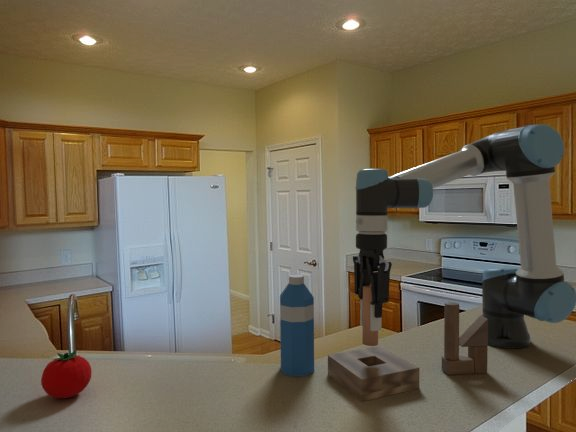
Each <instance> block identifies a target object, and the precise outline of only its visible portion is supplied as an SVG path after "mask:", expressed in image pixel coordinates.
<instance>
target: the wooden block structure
mask: <svg viewBox="0 0 576 432" xmlns="http://www.w3.org/2000/svg"><path fill="white" fill-rule="evenodd" d="M443 317H444V318H443V319H444V322H443V323H444V329H443V330H444V332H443V333H444V334H443V335H444V338H443V339H444V340H443V341H444V344H443V345H444V346H443V349H444V350H443V356H441V370H442V371H443V372H444V373H445V374H446V375H449V376H450V375H452V376H454V375H467V374H468V375H469V374H471V375H473V374H488V350H489V349H488V346H489V344H488V319H487V318H485V317H483V316H482V314H481V315H479V316H478V317H477V318H476V319H475V320H474V322H472V323H471V325H470V326H469V327H468V328H467V329H466V330H465V331H464V332H463V333H462V334H461V335H460V304H459V303H458V302H453V301H448V302H445V303H444V315H443ZM460 347H461V348H467V356H465V355H460Z"/></svg>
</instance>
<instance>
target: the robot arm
mask: <svg viewBox="0 0 576 432" xmlns="http://www.w3.org/2000/svg"><path fill="white" fill-rule="evenodd" d="M564 144H565V143H564V141H563V138H562V136H561V135H560V134H559V131H557V130H555V129H554V127H552V126H551V125H548V124H544V123H543V124H542V123H541V124H528V125H524V126H521V127H516V128H511V129H505V130H500V131H497V132H494V133H491V134H489V135H487V136H484V137H483V138H480V139H477V140H476V141H473V142H471V143H468V144H466V145H464V146H462V147H461V148H460V150H459V151H456V152H453V153H450V154H448V155H445V156H442V157H440V158H437V159H434V160H432V161H429V162H426V163H423V164H421V165H418V166H416V167H412V168H410V169H407V170H403V171H401V172H399V173H396V174H394V175H391V176H389V172H388V170H387V169H384V168H365V169H359V170H358V171H357V173H356V181H355V182H356V183H355V210H356V211H355V215H356V216H355V217H356V218H355V230H356V232H357V233H356V234H355V248H356V249H357V250H359V252H358V255H353V256H352V262H353V273H354V274H353V275H354V277H353V279H354V282H353V283H354V295H355V296H356V295H357V297H358V299H359V311H360V312H359V316H360V317H359V318H360V319H359V320H360V321H359V325H360V326H361V327H363V286H368V285H371V290H372V300H373V302H370V331H378V332H379V331H382V317H383V305H384V304H388V303H389V302H390V299H389V298H390V281H391V280H390V278H391V269H392V265H393V264H392V262H391V261H386V260H385V256H384V250H386V249H387V248H388V234H387V233H386V232H388V209H416V210H417V209H419V208H420V209H421V208H422V209H423V208H427V207H428V206H430V204H431V203H432V202H433V198H434V189H436V188H438V187H441V186H444V185H445V184H448V183H451V182H453V181H456V180H460V179H461V178H464V177H466V176H467V177H468V176H469V175H470V176H472V177H473V176H475V177H476V176H478V175H481V174H486V173H492V172H505V176H506V179H507V180H509V182H511V183H512V184H513V195H514V206H515V217H516V226H517V227H516V228H517V236H518V237H517V238H518V239H517V240H518V250H519V261H520V267H519V266H517V267H516V266H506V267H505V266H504V267H503V266H502V267H500V266H499V267H488V268H486V269H484V270H483V273H482V279H481V282H482V283H481V286H482V288H481V291H482V292H481V294H482V301H481V302H482V312H481V313H482V314H481V316H483V317H485V318H487V319H488V346H489V345H490V346H494V347H497V348H506V349H524V348H527V347H529V346H530V345H531V336H530V333H529V330H528V326H527V324H526V320H525V316H526V317H529V318H532V319H536V320H538V321H540V322H546V323H551V324H558V323H561V322H563V321H565V320H566V319H567V318H568V317H570V315H571V314H572V312H573V311H574V309H575V307H576V290H575V287H573V285H572V284H570V283H569V282H567V281H565V274H564V271H563V270H562V269H561V268H560V267H558V265H557V258H556V257H557V256H556V247H555V233H554V224H553V223H554V221H553V211H552V199H551V198H552V197H551V188H550V180H551V178H552V177H553V176H554V175H555V174H556V169H555V167H556V166H558V165H559V164H560V163H561V161H562V158H563V157H564V156H565V155H564V154H565V145H564Z"/></svg>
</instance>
